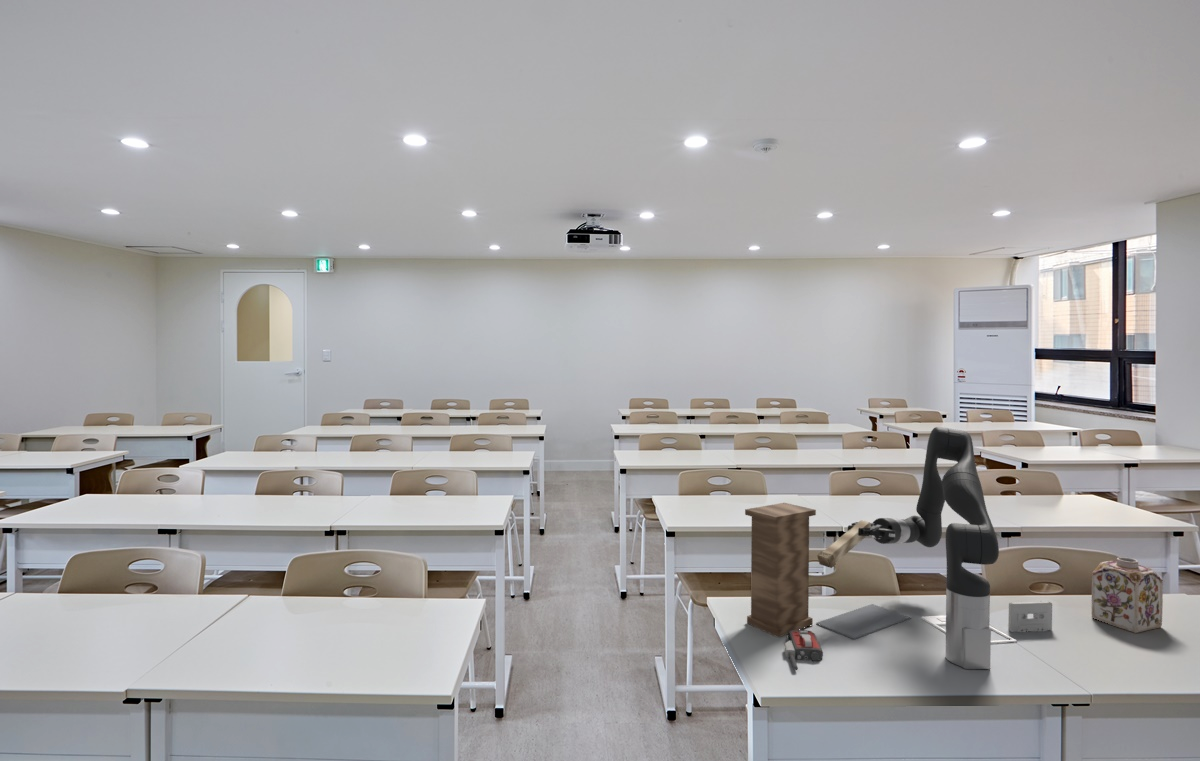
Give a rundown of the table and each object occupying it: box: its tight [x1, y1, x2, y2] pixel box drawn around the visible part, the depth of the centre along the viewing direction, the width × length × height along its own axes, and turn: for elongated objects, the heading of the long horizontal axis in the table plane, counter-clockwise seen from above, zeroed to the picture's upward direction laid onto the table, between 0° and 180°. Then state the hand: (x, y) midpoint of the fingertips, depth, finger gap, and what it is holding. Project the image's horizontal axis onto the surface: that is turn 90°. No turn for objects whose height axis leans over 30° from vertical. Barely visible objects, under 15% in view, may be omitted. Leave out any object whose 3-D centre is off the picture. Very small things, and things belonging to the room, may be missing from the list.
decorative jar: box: [1091, 556, 1164, 634], centre depth 180 cm, size 12×12×18 cm
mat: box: [816, 603, 911, 640], centre depth 181 cm, size 26×12×1 cm, turn 123°
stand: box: [744, 502, 817, 638], centre depth 179 cm, size 16×11×32 cm
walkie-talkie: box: [784, 629, 824, 671], centre depth 160 cm, size 9×4×20 cm
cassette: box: [1007, 601, 1053, 633], centre depth 175 cm, size 12×2×8 cm, turn 94°
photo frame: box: [920, 614, 1018, 645], centre depth 175 cm, size 15×1×18 cm
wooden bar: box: [816, 519, 871, 569], centre depth 184 cm, size 20×4×3 cm, turn 121°
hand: (854, 530), depth 185 cm, fingers closed on wooden bar, 3 cm apart
